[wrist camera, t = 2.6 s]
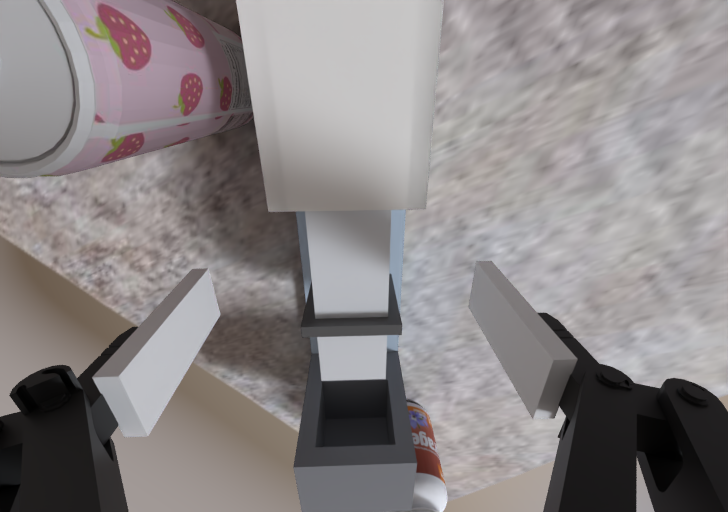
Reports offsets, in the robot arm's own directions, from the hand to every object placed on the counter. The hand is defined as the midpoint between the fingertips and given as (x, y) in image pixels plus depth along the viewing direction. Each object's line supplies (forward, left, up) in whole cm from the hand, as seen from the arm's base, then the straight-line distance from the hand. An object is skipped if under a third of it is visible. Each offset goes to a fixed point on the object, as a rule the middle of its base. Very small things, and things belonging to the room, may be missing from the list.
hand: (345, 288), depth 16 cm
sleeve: (-9, 0, -9) cm, 12 cm away
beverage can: (-9, -8, -10) cm, 16 cm away
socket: (+16, 0, -9) cm, 18 cm away
